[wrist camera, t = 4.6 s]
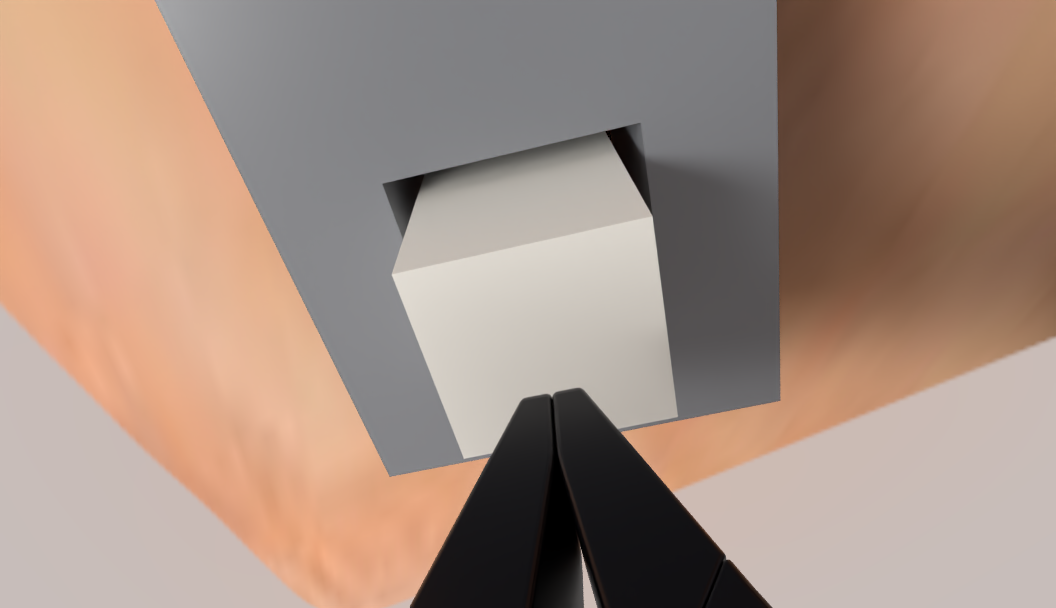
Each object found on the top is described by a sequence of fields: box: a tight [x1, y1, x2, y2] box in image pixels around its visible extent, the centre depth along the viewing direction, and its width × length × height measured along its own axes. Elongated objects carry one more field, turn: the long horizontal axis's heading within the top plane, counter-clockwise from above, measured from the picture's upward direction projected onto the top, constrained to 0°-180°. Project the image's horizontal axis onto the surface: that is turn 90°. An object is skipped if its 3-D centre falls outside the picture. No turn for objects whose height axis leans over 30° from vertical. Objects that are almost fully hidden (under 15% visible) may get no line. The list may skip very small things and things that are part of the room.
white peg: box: [392, 131, 678, 459], centre depth 12 cm, size 4×4×5 cm
